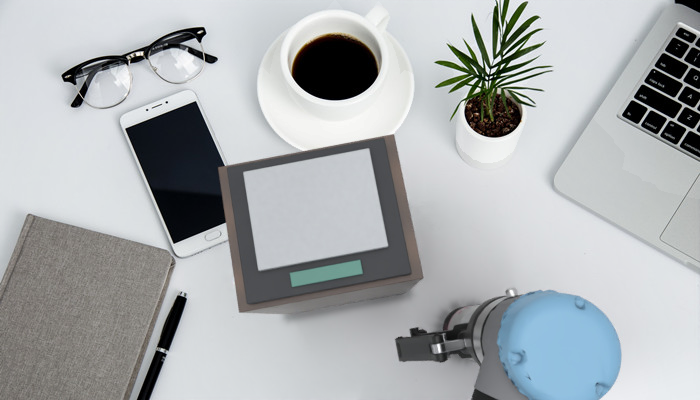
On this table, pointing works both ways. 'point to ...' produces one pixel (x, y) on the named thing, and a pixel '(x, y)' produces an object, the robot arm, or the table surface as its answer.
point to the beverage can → (459, 318)
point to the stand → (338, 294)
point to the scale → (317, 221)
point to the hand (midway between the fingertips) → (476, 330)
